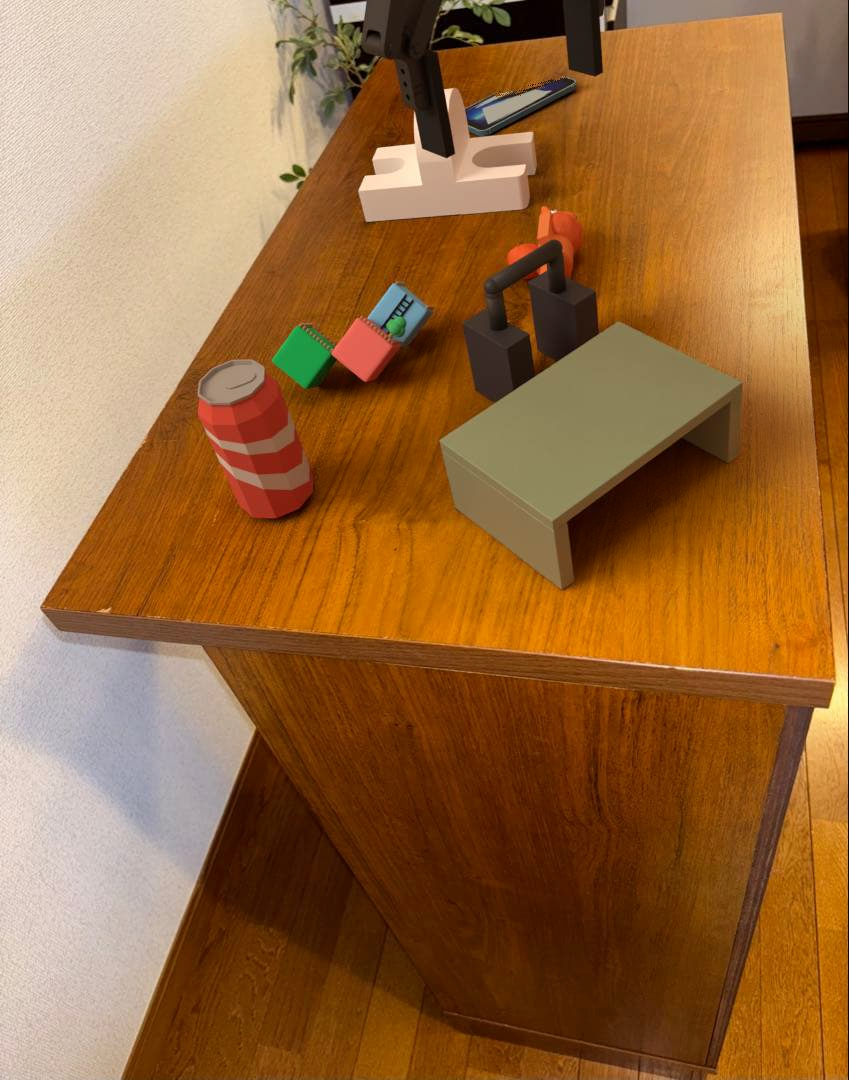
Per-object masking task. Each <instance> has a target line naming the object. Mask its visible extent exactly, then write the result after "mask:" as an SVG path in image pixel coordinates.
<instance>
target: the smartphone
mask: <svg viewBox="0 0 849 1080" xmlns="http://www.w3.org/2000/svg"><path fill="white" fill-rule="evenodd" d="M565 76H566V75H564V77H565ZM562 77H563V76H562ZM562 77H561V78H562ZM564 77H563V78H564ZM566 77H567V78H564V79H563V78H562V79H561V78H560V80H557V81H556V80H555V81H554V79H553V80H552V79H551V80H548V82H549V81H550V82H551V83H550V82H549V83H548V82H547V81H546V82H547V83H548V84H547V83H546V82H545V81H544V82H545V83H546V84H545V83H544V82H543V83H544V85H542V87H543V86H544V87H545V88H544V87H543V88H542V87H541V86H537V87H532V88H529V89H526V90H525V89H524V90H523V92H522V93H521V92H520V93H517V94H515V93H516V92H517V91H516V92H515V91H511V92H510V93H509V92H508V93H507V92H505V93H500V95H501V94H502V95H503V94H504V95H503V96H502V95H501V96H497V97H496V96H494V94H495V93H496V92H494V93H492V94H489V95H488V96H486V97H484V98H483V99H480V100H478V101H477V102H475V103H473V104H471V105H469V106H466V107H464V108H465V113H466V118H467V124H468V131H469V133H472V134H474V135H476V136H477V137H486V136H490V135H491V134H493V133H496V131H499V130H501V129H502V128H504V127H505V126H508V125H510V124H512V123H514V122H515V121H517V120H519V119H522V118H523V117H526V116H527V115H529V114H531V113H532V112H534V111H536V110H538V109H540V108H542V107H544V106H546V105H548V104H550V103H552V102H554V101H555V100H557V99H559V98H561V97H563V96H565V95H566V94H569V93H570V92H572V91H574V90H576V89H577V87H578V86H577V80H576V79H575V78H572V77H569V76H566ZM553 81H554V82H553ZM541 83H542V82H541ZM541 83H540V84H541ZM543 83H542V84H543ZM538 84H539V83H538ZM575 84H576V85H575ZM533 85H534V84H532V86H533ZM535 85H536V84H535ZM573 85H574V86H573ZM528 86H529V85H528ZM530 86H531V85H530ZM571 86H572V87H571ZM525 87H526V86H525ZM538 87H539V88H540V87H541V88H540V89H539V88H538ZM537 88H538V89H537ZM534 89H535V90H534ZM536 89H537V90H536ZM565 89H566V90H565ZM563 90H564V91H563ZM519 91H520V90H519ZM521 91H522V90H521ZM524 91H525V92H524ZM526 91H527V92H526ZM512 92H513V93H514V92H515V93H514V94H513V93H512ZM506 93H507V94H506ZM511 93H512V94H511ZM498 94H499V93H498ZM505 94H506V95H505ZM508 94H509V95H508ZM510 94H511V95H510ZM518 95H519V96H518ZM520 95H521V96H520ZM498 97H499V98H498ZM500 97H501V98H500ZM509 97H510V98H509Z"/></svg>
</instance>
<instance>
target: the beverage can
mask: <svg viewBox="0 0 849 1080" xmlns="http://www.w3.org/2000/svg"><path fill="white" fill-rule="evenodd" d="M197 385H198V386H197V397H198V398H199V401H198V409H197V416H198V418H199V420H200V423H201V424H202V427H203V429H204V431H205V434H206V435H207V437H208V439H209V442H210V444H211V446H212V449H213V451H214V453H215V455H216V457H217V459H218V462H219V464H220V466H221V469H222V470H223V472H224V475H225V477H226V479H227V481H228V483H229V485H230V488H231V490H232V493H233V495H234V496H235V499H236V501H237V503H238V505H239V507H240V508H241V510H243V511H245V512H246V513H247V514H248V515H249V516H251V517H252V518H254V519H278V518H280V517H282V516H285V515H288V514H290V513H291V512H294V511H298V510H299V509H300V508H301V507H302V506H303V505H304V503H306V501H307V500H308V499H309V498H310V496H311V495H312V494H313V493H314V474H313V472H312V469H311V467H310V464H309V460H308V458H307V456H306V453H305V449H304V448H303V445H302V442H301V439H300V437H299V434H298V432H297V428H296V425H295V423H294V421H293V418H292V415H291V412H290V410H289V407H288V404H287V401H286V399H285V397H284V394H283V391H282V389H281V386H280V383H279V381H278V380H277V379H275V378H274V377H273V376H271V375H269V374H268V373H267V372H266V368H265V366H264V365H262V364H260V363H259V362H258V361H255V360H254V359H253V358H252V359H249V358H248V359H231V360H229V361H226V362H224V363H221V364H219V365H217V366H214V367H212V368H210V369H209V371H208V372H207V373H206V374H205V375H203V377H201V379H200V380H199V381H198V384H197Z"/></svg>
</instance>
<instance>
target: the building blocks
mask: <svg viewBox="0 0 849 1080" xmlns="http://www.w3.org/2000/svg"><path fill="white" fill-rule="evenodd" d="M406 285H407V283H406V282H404V281H400V280H396V281H395V283H394V282H393V283H392V284H391V286H389V288H388V289H387V290H386V292H385V293H384V294H383V296H382V297H381V298H380V300H379V301H378V302H377V303H376V305H375V306H374V308H373V309H372V311H371V312H370V313H369V315H368V316H367V317H364V316H363V315H360V316H358V317H357V318H356V319H355V320H354V321H353V322H352V324H351V325H350V327H349V328H348V329H347V331H346V332H345V333H344V335H343V336H342V338H341V339H340V340H339V341H338V343H337V342H336V341H334V339H331V336H327V334H326V333H324V331H321V329H320V328H318V326H316V325H314V323H313V322H310V323H309V322H300V324H299V325H296V326H295V327H294V328H293V329H292V331H291V332H290V334H289V335H288V337H287V338H286V339H285V340H284V342H283V344H282V345H281V346H280V347H279V349H278V350H277V351H276V353H275V355H274V356H273V357H272V359H271V362H272V364H274V366H276V367H277V368H278V369H280V370H281V372H284V374H285V375H287V376H288V377H289V378H291V379H292V381H294V382H296V383H297V384H298V385H299V386H301V387H302V388H303V389H304V390H309V389H312V388H313V389H314V388H317V387H319V385H320V384H321V383H322V382H323V380H324V379H325V378H326V376H327V375H328V374H329V372H330V371H331V369H332V368H333V367H334V365H335V364H336V363H337V361H338V362H339V363H341V364H342V365H343V366H344V367H346V368H347V369H348V370H349V371H351V372H352V373H353V374H354V375H356V377H358V378H359V379H360V380H362V382H364V383H369V382H373V381H375V380H377V379H378V378H379V376H380V375H381V374H382V372H383V371H384V369H385V368H386V367H387V366H388V364H389V363H390V362H391V361H392V359H393V358H394V356H395V355H396V354H397V352H398V351H399V350H400V349H401V347H405V346H406V347H407V346H409V345H411V344H412V342H413V340H415V338H416V337H417V335H418V334H419V333H420V332H421V330H422V329H423V328H424V326H425V325H426V323H427V322H428V321H429V320H430V318H431V317H432V316H433V314H434V310H435V309H436V307H435V306H433V305H427V304H426V303H425V302H424V301H422V299H420V298H419V297H418V296H416V295H415V294H414V293H412V291H410V290H409V289H408V288H407V287H406ZM313 326H314V327H313ZM323 334H324V335H323ZM329 340H330V341H329ZM333 342H334V343H333Z"/></svg>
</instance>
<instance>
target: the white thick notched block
mask: <svg viewBox="0 0 849 1080" xmlns="http://www.w3.org/2000/svg"><path fill="white" fill-rule="evenodd" d="M444 92H445V97H446V103H447V109H448V114H449V120H450V126H451V132H452V137H453V143H454V149H455V154H454V155H452V156H450V157H448V158H444V157H442V156H439V155H437V154H434V153H431V152H429V151H426V150H424V149H422V146H421V141H420V136H419V131H418V126H417V121H416V116H415V111H413V135H414V137H413V138H414V143H411V144H401V145H392V146H382V147H377V148H376V150H375V152H374V154H373V156H372V159H371V161H372V165H373V169H374V174H371V175H364V177H363V179H362V181H361V184H360V186H359V188H358V196H359V199H360V203H361V207H362V208H361V209H362V212H363V215H364V219H365V222H366V223H371V222H383V221H395V220H407V219H418V218H419V219H420V218H429V217H442V216H455V215H471V214H485V213H496V212H508V211H520V210H525V209H527V208H528V207H529V204H530V199H531V195H530V186H529V176H535V175H536V172H537V167H538V162H537V152H536V146H535V144H536V143H535V135H534V132H533V131H526V132H524V131H523V132H516V133H507V134H496V135H486V136H477V137H471V136H470V132H469V131H468V124H467V118H466V113H465V108H466V107H465V104H464V101H463V97H462V95H461V92H460V90H459V89H458V88H457V87H452V88H444Z"/></svg>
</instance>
